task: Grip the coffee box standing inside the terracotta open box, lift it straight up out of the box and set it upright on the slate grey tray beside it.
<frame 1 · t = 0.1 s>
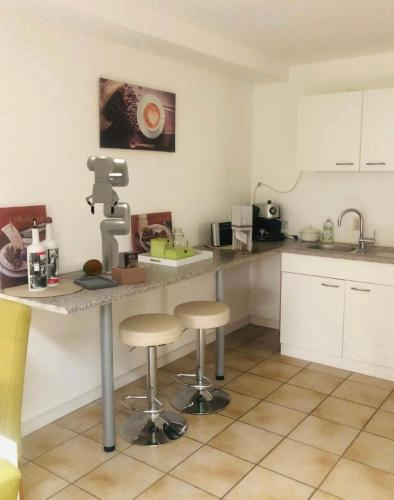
hand: (102, 214, 257), 37 cm above the counter, tool pointing down, fingers open, 9 cm apart
tray: (95, 284, 262), on the counter
fruit: (91, 276, 283), on the counter
coffee box: (128, 281, 270), resting in terracotta open box
terracotta open box: (128, 281, 270), on the counter
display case: (241, 253, 372), on the counter
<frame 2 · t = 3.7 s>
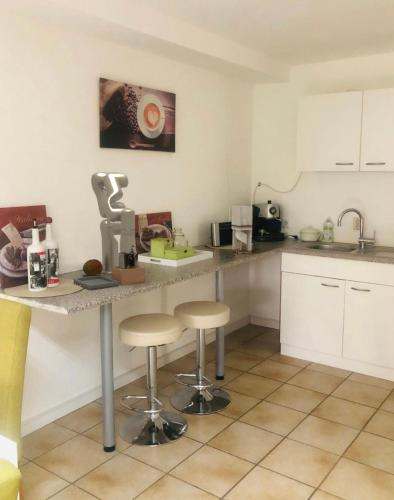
hand: (128, 264, 269), 9 cm above the counter, tool pointing down, fingers closed on coffee box, 7 cm apart
coffee box: (128, 281, 270), resting in terracotta open box, touching gripper
everything else where it was.
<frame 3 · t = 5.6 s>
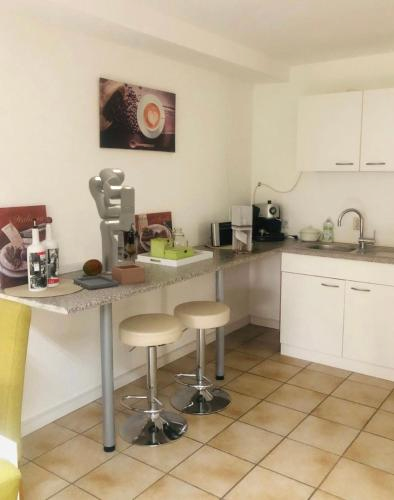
hand: (127, 242, 267), 21 cm above the counter, tool pointing down, fingers closed on coffee box, 7 cm apart
coffee box: (127, 260, 269), point 12 cm above the counter, touching gripper
everything else where it was.
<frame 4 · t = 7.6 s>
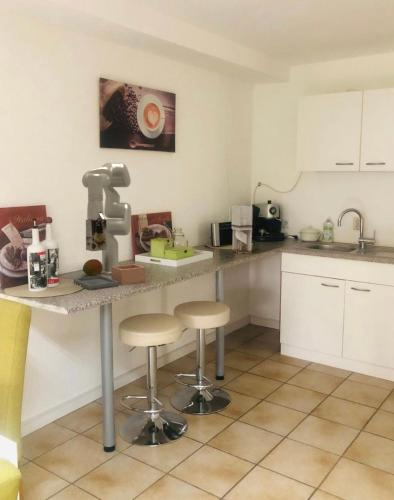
hand: (96, 232, 258), 28 cm above the counter, tool pointing down, fingers closed on coffee box, 7 cm apart
coffee box: (96, 250, 259), point 18 cm above the counter, touching gripper
everything else where it was.
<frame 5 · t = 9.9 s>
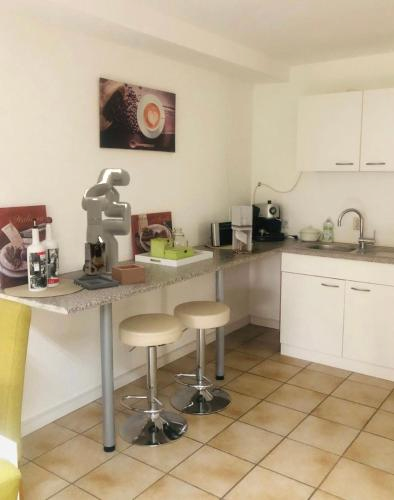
hand: (95, 255, 259), 16 cm above the counter, tool pointing down, fingers closed on coffee box, 7 cm apart
coffee box: (95, 273, 261), point 6 cm above the counter, touching gripper
everything else where it was.
when the fingers open (12 cm above the counter, at t = 11.7 s): coffee box drops 1 cm, resting on tray.
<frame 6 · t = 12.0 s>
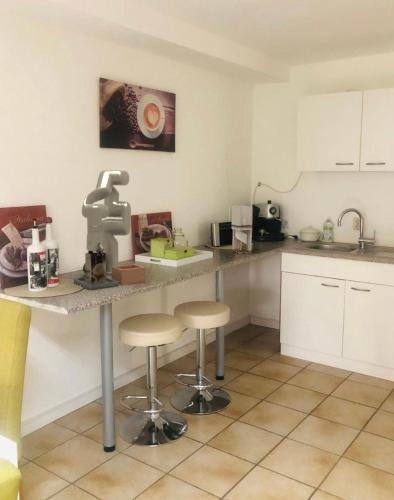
hand: (95, 261, 260), 12 cm above the counter, tool pointing down, fingers open, 9 cm apart
coffee box: (95, 283, 262), point 1 cm above the counter, touching tray
everything else where it was.
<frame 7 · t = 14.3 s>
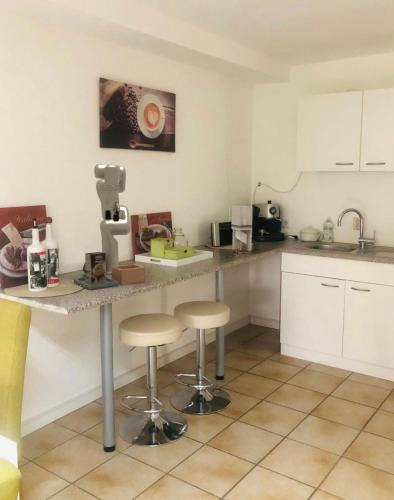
hand: (112, 220, 266), 33 cm above the counter, tool pointing down, fingers open, 9 cm apart
nothing on the counter moved.
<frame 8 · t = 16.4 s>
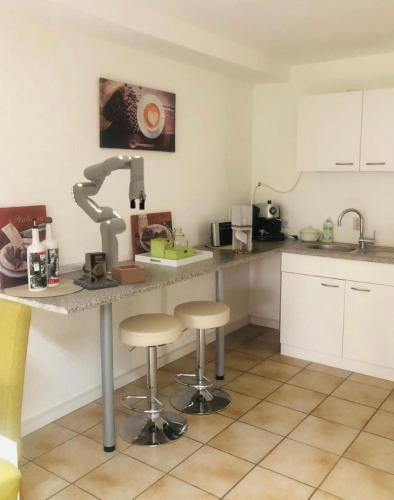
hand: (137, 209, 280), 38 cm above the counter, tool pointing down, fingers open, 9 cm apart
nothing on the counter moved.
at the end: coffee box inside the target area on the tray (0.3 cm from its centre), point 0.6 cm above the tray's base; coffee box tilted 0°; the gripper is holding nothing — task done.
